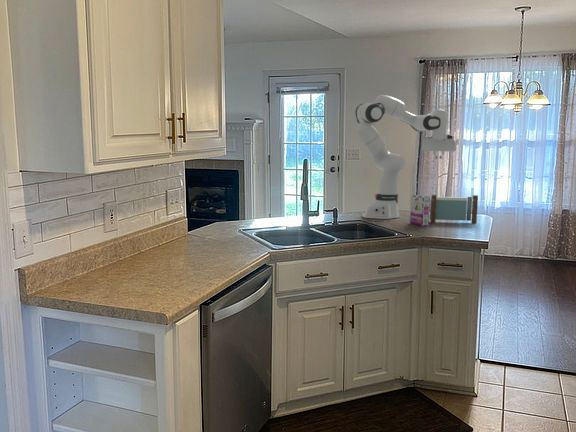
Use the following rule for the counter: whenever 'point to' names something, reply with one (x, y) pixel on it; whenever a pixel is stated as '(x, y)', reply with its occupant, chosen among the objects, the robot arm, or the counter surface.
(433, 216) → the post
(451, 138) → the robot arm
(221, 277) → the counter surface
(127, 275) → the counter surface
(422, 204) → the candy bar box
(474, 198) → the gate post
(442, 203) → the gate
